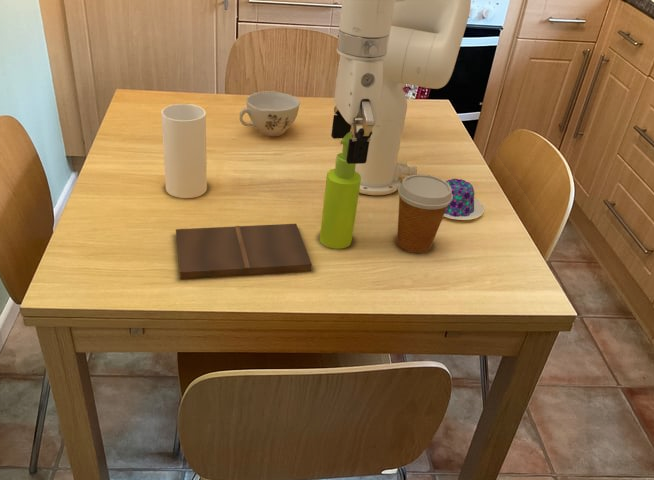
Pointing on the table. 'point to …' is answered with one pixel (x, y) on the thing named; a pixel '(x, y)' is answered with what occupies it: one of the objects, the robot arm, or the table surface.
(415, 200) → the disposable coffee cup
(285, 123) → the teacup
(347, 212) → the soap dispenser
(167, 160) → the cup
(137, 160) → the table surface
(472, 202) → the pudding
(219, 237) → the walnut board
